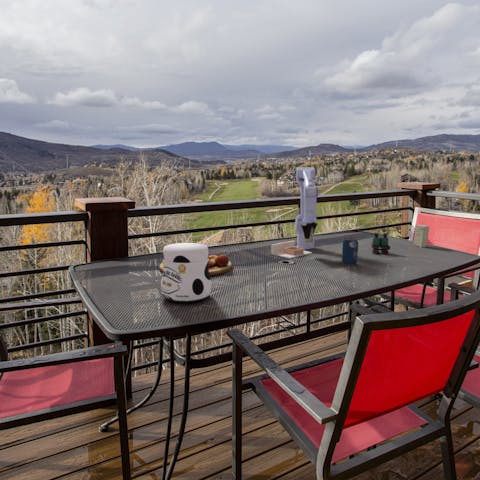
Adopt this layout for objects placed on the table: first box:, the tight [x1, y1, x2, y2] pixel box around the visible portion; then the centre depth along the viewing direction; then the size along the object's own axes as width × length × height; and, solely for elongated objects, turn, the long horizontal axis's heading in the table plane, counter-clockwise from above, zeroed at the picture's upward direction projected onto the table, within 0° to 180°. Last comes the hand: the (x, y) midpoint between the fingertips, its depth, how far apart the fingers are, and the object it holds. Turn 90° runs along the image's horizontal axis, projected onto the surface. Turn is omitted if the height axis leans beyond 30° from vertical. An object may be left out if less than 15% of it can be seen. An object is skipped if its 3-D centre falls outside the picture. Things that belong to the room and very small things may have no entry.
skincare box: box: [413, 224, 430, 248], centre depth 231 cm, size 6×4×12 cm
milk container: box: [160, 242, 212, 303], centre depth 139 cm, size 17×17×18 cm
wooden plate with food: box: [158, 254, 233, 277], centre depth 180 cm, size 32×32×8 cm
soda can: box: [341, 237, 359, 266], centre depth 189 cm, size 7×7×12 cm
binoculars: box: [371, 232, 391, 256], centre depth 212 cm, size 9×10×10 cm
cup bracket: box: [270, 240, 313, 259], centre depth 209 cm, size 18×12×5 cm
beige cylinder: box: [305, 228, 313, 243], centre depth 203 cm, size 4×4×7 cm
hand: (308, 237), depth 203 cm, fingers closed on beige cylinder, 4 cm apart
